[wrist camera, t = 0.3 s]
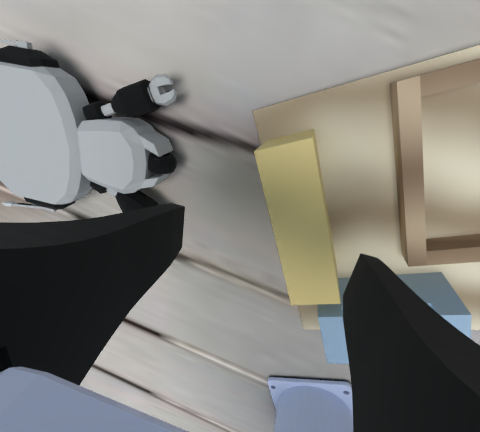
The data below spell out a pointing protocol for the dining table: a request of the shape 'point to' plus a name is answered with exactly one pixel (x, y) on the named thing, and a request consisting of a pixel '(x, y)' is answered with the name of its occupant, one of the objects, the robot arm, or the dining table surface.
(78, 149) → the robot toy
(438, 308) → the blue notched block
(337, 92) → the jig
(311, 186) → the yellow rectangular block
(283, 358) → the dining table surface
